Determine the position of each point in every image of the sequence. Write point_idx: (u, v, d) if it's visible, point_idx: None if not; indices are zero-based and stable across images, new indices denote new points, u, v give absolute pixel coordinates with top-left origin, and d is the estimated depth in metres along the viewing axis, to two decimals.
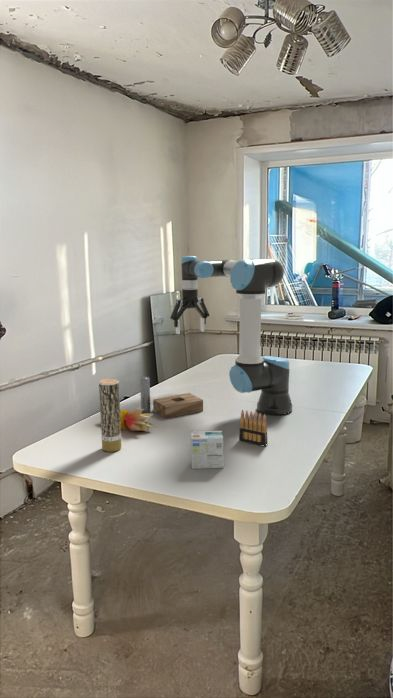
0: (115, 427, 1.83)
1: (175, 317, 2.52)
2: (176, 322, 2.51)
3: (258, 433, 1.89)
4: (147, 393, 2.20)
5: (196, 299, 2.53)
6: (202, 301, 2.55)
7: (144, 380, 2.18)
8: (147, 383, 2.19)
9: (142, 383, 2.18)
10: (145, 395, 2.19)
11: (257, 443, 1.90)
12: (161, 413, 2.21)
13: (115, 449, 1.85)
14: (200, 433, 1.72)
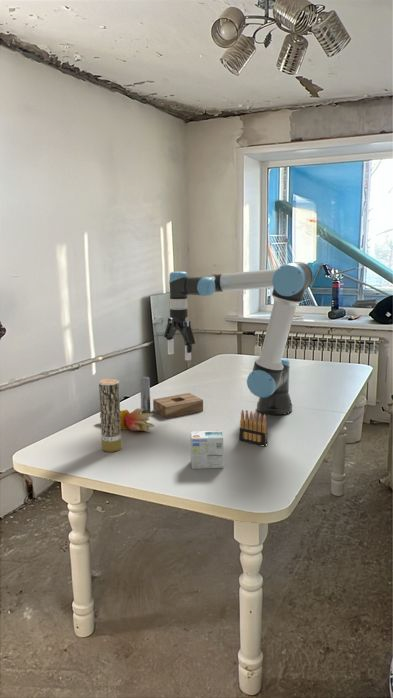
0: (115, 427, 1.83)
1: None
2: (168, 341, 2.33)
3: (258, 433, 1.89)
4: (147, 393, 2.20)
5: (180, 321, 2.22)
6: (184, 325, 2.19)
7: (144, 380, 2.18)
8: (147, 383, 2.19)
9: (142, 383, 2.18)
10: (145, 395, 2.19)
11: (257, 443, 1.90)
12: (161, 413, 2.21)
13: (115, 449, 1.85)
14: (200, 433, 1.72)
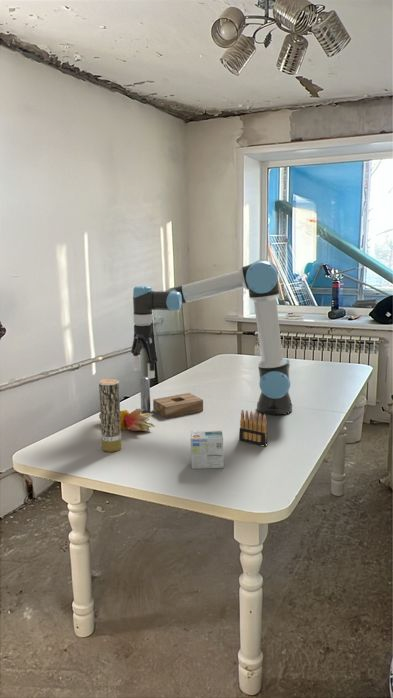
0: (115, 427, 1.83)
1: None
2: None
3: (258, 433, 1.89)
4: (147, 393, 2.20)
5: (144, 338, 2.13)
6: (147, 342, 2.10)
7: (144, 380, 2.18)
8: (147, 383, 2.19)
9: (142, 383, 2.18)
10: (145, 395, 2.19)
11: (257, 443, 1.90)
12: (161, 413, 2.21)
13: (115, 449, 1.85)
14: (200, 433, 1.72)
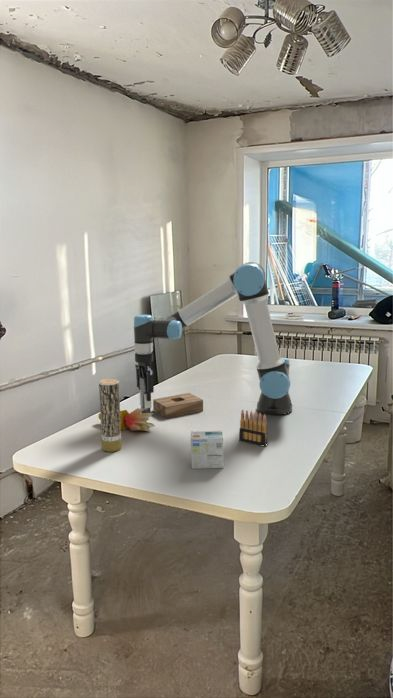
0: (115, 427, 1.83)
1: None
2: None
3: (258, 433, 1.89)
4: None
5: (145, 366, 2.15)
6: (147, 374, 2.14)
7: None
8: None
9: (142, 383, 2.18)
10: None
11: (257, 443, 1.90)
12: (161, 413, 2.21)
13: (115, 449, 1.85)
14: (200, 433, 1.72)
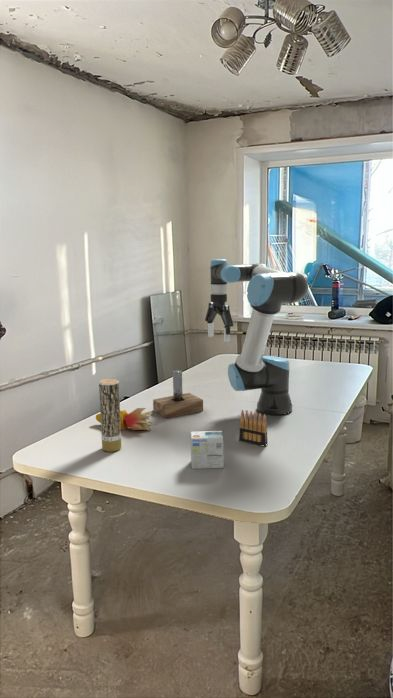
0: (115, 427, 1.83)
1: None
2: None
3: (258, 433, 1.89)
4: (180, 386, 2.24)
5: (220, 305, 2.39)
6: (224, 309, 2.36)
7: (177, 373, 2.22)
8: (180, 376, 2.23)
9: (175, 376, 2.22)
10: (178, 388, 2.23)
11: (257, 443, 1.90)
12: (161, 413, 2.21)
13: (115, 449, 1.85)
14: (200, 433, 1.72)
